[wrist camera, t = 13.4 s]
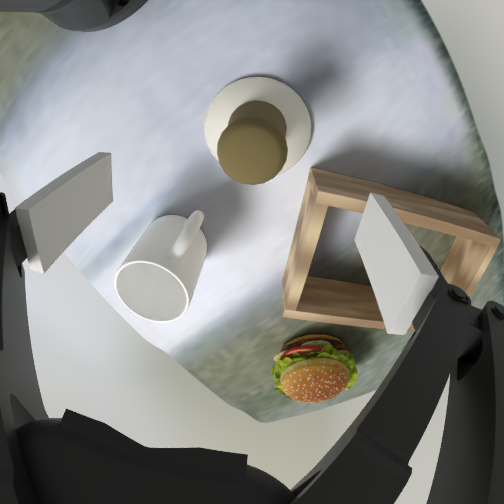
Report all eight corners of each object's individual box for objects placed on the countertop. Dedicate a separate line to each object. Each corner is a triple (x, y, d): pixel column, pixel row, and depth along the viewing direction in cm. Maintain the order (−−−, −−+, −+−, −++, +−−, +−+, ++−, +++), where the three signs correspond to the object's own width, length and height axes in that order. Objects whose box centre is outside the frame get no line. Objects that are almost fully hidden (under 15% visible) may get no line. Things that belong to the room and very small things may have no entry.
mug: (181, 176, 34) (148, 216, 25) (239, 216, 36) (226, 268, 27) (137, 245, 39) (104, 294, 31) (187, 278, 42) (167, 333, 33)
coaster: (212, 70, 27) (211, 70, 27) (320, 87, 27) (320, 88, 27) (200, 168, 33) (199, 170, 33) (299, 184, 33) (299, 186, 33)
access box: (310, 167, 32) (318, 190, 26) (473, 212, 33) (500, 239, 27) (282, 279, 41) (282, 316, 35) (429, 300, 41) (445, 333, 35)
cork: (253, 167, 32) (245, 211, 23) (215, 125, 30) (189, 151, 20) (298, 133, 30) (312, 163, 20) (261, 88, 27) (256, 95, 18)
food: (277, 381, 54) (276, 418, 47) (267, 332, 47) (265, 374, 40) (350, 374, 52) (356, 411, 45) (356, 324, 44) (365, 365, 38)
